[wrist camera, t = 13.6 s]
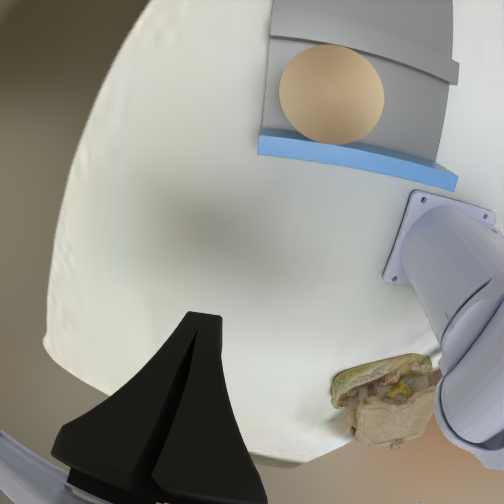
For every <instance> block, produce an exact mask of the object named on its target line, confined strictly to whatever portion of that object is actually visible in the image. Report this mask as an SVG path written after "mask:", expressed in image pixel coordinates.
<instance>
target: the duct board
mask: <svg viewBox="0 0 504 504" xmlns="http://www.w3.org/2000/svg"><path fill="white" fill-rule="evenodd" d="M452 44H453V4H452V0H274V1H273V10H272V15H271V26H270V44H269V55H268V66H267V77H266V88H265V99H264V110H263V121H262V129H261V131H260V134H259V140H258V151H257V155H265V156H274V157H283V158H291V159H299V160H306V161H313V162H320V163H326V164H333V165H339V166H344V167H350V168H355V169H361V170H366V171H371V172H376V173H381V174H385V175H390V176H394V177H399V178H403V179H407V180H411V181H415V182H419V183H423V184H427V185H431V186H434V187H438V188H442V189H445V190H449V191H452V192H454V189H455V186H456V182H457V179H458V176H457V175H455V174H454V173H452V172H451V171H449V170H447V169H446V168H444V167H443V166H441V165H440V164H438V163H436V162H435V160H436V156H437V152H438V147H439V143H440V138H441V133H442V128H443V123H444V117H445V111H446V105H447V98H448V91H449V85H457V84H458V75H459V63H458V62H456V61H454V60H452ZM319 45H337V46H342V47H345V48H348V49H351V50H353V51H355V52H357V53H358V54H360V55H361V56H363V57H364V58H365V59H366V60H367V61H368V62H369V63H370V64H371V65H372V66H373V67H374V69H375V70H376V72H377V74H378V75H379V77H380V80H381V82H382V86H383V90H384V106H383V111H382V114H381V116H380V119H379V121H378V122H377V124H376V125H375V127H374V128H373V129H372V130H371V131H370V132H369V133H368V134H367V135H365V136H364V137H362V138H361V139H359V140H356V141H354V142H351V143H347V144H342V145H329V144H323V143H319V142H316V141H314V140H311V139H309V138H308V137H306V136H304V135H303V134H301V133H300V132H299V131H298V130H297V129H295V128H294V127H293V125H292V124H291V123H290V122H289V120H288V119H287V117H286V116H285V114H284V111H283V109H282V106H281V103H280V98H279V85H280V80H281V76H282V74H283V71H284V70H285V68H286V66H287V65H288V63H289V62H290V61H291V60H292V59H293V58H294V57H295V56H296V55H297V54H299V53H300V52H302V51H304V50H306V49H308V48H311V47H314V46H319Z"/></svg>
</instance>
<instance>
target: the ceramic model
mask: <svg viewBox="0 0 504 504" xmlns="http://www.w3.org/2000/svg"><path fill="white" fill-rule="evenodd" d="M432 369H433V368H432V362H431V360H430V359H428V358H427V357H426V356H424V355H419V354H406V355H402V356H398V357H393V358H389V359H384V360H380V361H376V362H372V363H368V364H365V365H361V366H357V367H354V368H351V369H349V370H346V371H344V372H342V373H340V374H339V375H337V376H336V377H335V379H334V382H333V384H332V388H331V394H332V396H331V397H332V399H331V403H332V404H333V407H334V408H336V409H338V408H339V409H340V408H342V407H343V406H345V407H348V413H347V414H346V419H347V421H348V422H349V423H350V424H351V425H352V426H351V428H350V432H351V435H352V437H353V438H354V439H355V440H356V441H357V442H361V443H363V444H365V445H367V446H369V448H372V447H373V448H378V447H384V446H387V445H391V450H395V449H397V448H402V447H403V444H404V442H403V441H408V440H412V439H415V438H417V437H419V436H421V434H422V433H423V432H424V429H425V427H426V425H427V423H428V421H429V420H430V418H431V416H432V415H433V414H434V406H433V400H434V393H435V389H436V387H435V386H430V387H429V384H428V378H427V375H428V374H430V373H431V371H432Z"/></svg>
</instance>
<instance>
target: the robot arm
mask: <svg viewBox="0 0 504 504" xmlns="http://www.w3.org/2000/svg"><path fill="white" fill-rule="evenodd" d="M422 197H424V200H423V201H421V198H422ZM484 215H485V216H484ZM495 219H496V215H495V213H493V212H492V211H489V210H486V209H483V208H480V207H476V206H473V205H470V204H466V203H463V202H460V201H456V200H452V199H449V198H445V197H441V196H438V195H434V194H430V193H426V192H422V191H414V192H413V193H412V194H411V196H410V200H409V203H408V206H407V210H406V213H405V216H404V219H403V222H402V225H401V228H400V231H399V234H398V237H397V240H396V243H395V246H394V248H393V251H392V254H391V257H390V259H389V262H388V264H387V267H386V270H385V272H384V275H383V279H384V281H385V282H386V283H393V284H405V285H412V287H413V289H414V291H415V293H416V295H417V297H418V299H419V301H420V303H421V305H422V307H423V309H424V312H425V314H426V316H427V318H428V320H429V322H430V324H431V327H432V329H433V331H434V333H435V336H436V338H437V340H438V343H439V345H440V347H441V350H442V357H441V359H440V360H439V362H438V364H439V366H440V369H441V372H442V375H443V377H442V378H441V379H440V381H439V383H438V384H437V387H436V389H435V393H434V400H433V406H434V413H435V417H436V420H437V423H438V426H439V427H440V429H441V431H442V433H443V434H444V435H445V437H446V438H447V439H448V440H449V441H450V442H452V443H453V444H455V445H456V446H458V447H460V448H462V449H465V450H467V451H469V452H471V453H473V454H474V455H475V456H476V457H477V458H478V459H479V461H480V462H481V463H482V465H483V466H484V467H485V468H489V469H497V470H504V236H503V235H502V234H501V233H500V232H499V231H498V230H497V229H496V228H495V227H494V226H493V224H494V222H495ZM395 276H396V277H395ZM393 277H395V278H393ZM392 278H393V279H392ZM221 352H222V317H221V316H220V315H212V314H205V313H198V312H191V311H189V312H187V313H186V315H185V316H184V318H183V319H182V321H181V322H180V323H179V325H178V326H177V328H176V329H175V330H174V332H173V333H172V334H171V336H170V337H169V338H168V339H167V341H166V342H165V343H164V344H163V345H162V347H161V348H160V349H159V350H158V352H157V353H156V354H155V355H154V356H153V357H152V358H151V359H150V360H149V361H148V363H147V364H146V365H145V366H144V367H143V368H142V369H141V370H140V371H139V372H138V373H137V374H136V375H135V376H134V377H133V378H132V379H130V380H129V381H128V382H127V383H126V384H125V385H124V386H122V387H121V388H120V389H119V390H118V391H116V392H115V393H114V394H113V395H111V396H110V397H109V398H107V399H106V400H105V401H103V402H102V403H100V404H99V405H97V406H96V407H94V408H93V409H91V410H90V411H88V412H87V413H85V414H84V415H82V416H80V417H78V418H77V419H75V420H73V421H71V422H69V423H67V424H65V425H63V426H62V428H61V430H60V431H59V433H58V435H57V437H56V440H55V442H54V445H53V448H52V450H51V455H52V456H53V457H54V458H56V459H57V460H59V461H61V462H63V463H64V464H66V465H67V466H69V467H71V469H70V472H69V473H68V472H66V471H64V470H62V469H60V468H59V467H57V466H55V465H53V464H51V463H50V462H48V461H46V460H45V459H43V458H41V457H40V456H38V455H36V454H35V453H33V452H32V451H30V450H28V449H27V448H25V447H24V446H22V445H21V444H19V443H18V442H17V441H16V440H14V439H13V438H11V437H10V436H9V435H7V434H6V433H5V432H3V431H2V430H1V429H0V489H1V490H2V491H3V492H4V493H5V494H6V495H7V496H8V497H9V498H10V499H11V500H12V501H13V502H14V503H15V504H97V503H95V502H93V501H90V500H88V499H86V498H83V497H81V496H79V495H76V494H74V493H73V492H72V489H74V490H76V491H78V492H80V493H82V494H84V495H87V496H89V497H91V498H93V499H95V500H98V501H100V502H102V503H105V504H156V502H158V503H162V504H164V502H165V503H169V504H268V501H267V496H266V493H265V490H264V487H263V484H262V481H261V479H260V476H259V473H258V471H257V470H256V467H255V466H254V463H253V461H252V459H251V457H250V455H249V453H248V451H247V448H246V446H245V444H244V441H243V439H242V436H241V433H240V431H239V428H238V425H237V423H236V420H235V417H234V414H233V410H232V407H231V404H230V400H229V396H228V392H227V388H226V383H225V378H224V373H223V367H222V359H221ZM71 488H72V489H71ZM415 504H421V503H420V502H419V503H415Z"/></svg>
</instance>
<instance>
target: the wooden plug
mask: <svg viewBox="0 0 504 504" xmlns="http://www.w3.org/2000/svg"><path fill="white" fill-rule="evenodd" d="M279 98H280V103H281V106H282V109H283V111H284V114H285V116H286V117H287V119H288V120H289V122H290V123H291V124H292V125H293V127H294V128H295V129H297V130H298V131H299V132H300V133H301V134H303V135H304V136H306V137H308V138H309V139H311V140H314V141H316V142H319V143H323V144H329V145H342V144H347V143H351V142H354V141H356V140H359V139H361V138H362V137H364V136H365V135H367V134H368V133H369V132H370V131H371V130H372V129H373V128H374V127H375V125H376V124H377V122H378V121H379V119H380V116H381V114H382V111H383V106H384V90H383V86H382V82H381V80H380V77H379V75H378V74H377V72H376V70H375V69H374V67H373V66H372V65H371V64H370V63H369V62H368V61H367V60H366V59H365V58H364V57H363V56H361V55H360V54H358V53H357V52H355V51H353V50H351V49H348V48H345V47H342V46H337V45H319V46H314V47H311V48H308V49H306V50H304V51H302V52H300V53H299V54H297V55H296V56H295V57H294V58H293V59H292V60H291V61H290V62H289V63H288V65H287V66H286V68H285V70H284V71H283V74H282V76H281V80H280V85H279Z"/></svg>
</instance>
